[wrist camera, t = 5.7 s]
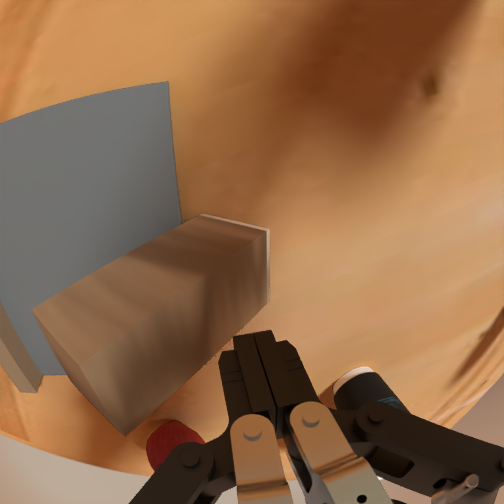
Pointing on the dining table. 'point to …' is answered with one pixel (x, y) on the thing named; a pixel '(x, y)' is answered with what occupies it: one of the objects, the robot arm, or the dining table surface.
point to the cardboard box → (157, 314)
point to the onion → (168, 441)
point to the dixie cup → (363, 391)
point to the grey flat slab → (77, 205)
